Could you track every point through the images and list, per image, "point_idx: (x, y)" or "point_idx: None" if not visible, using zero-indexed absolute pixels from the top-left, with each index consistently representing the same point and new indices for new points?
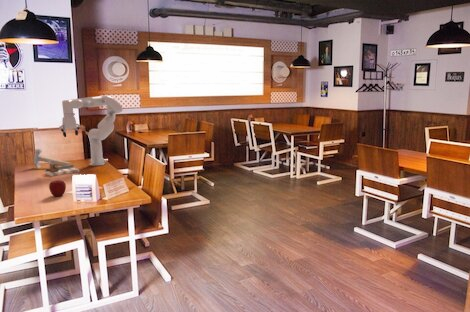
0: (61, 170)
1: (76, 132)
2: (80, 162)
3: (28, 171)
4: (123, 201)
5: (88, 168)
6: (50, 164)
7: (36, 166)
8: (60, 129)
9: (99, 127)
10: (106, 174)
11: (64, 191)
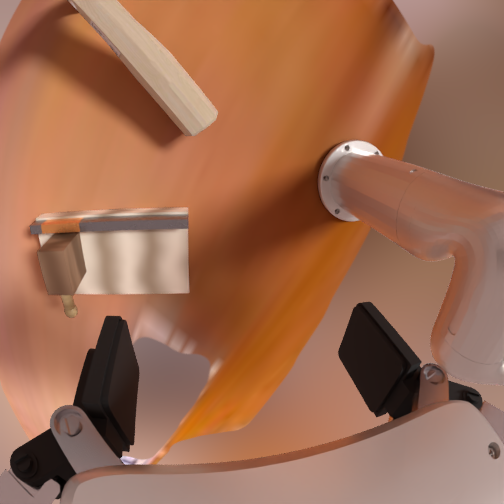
0: (103, 258)
1: (361, 387)
2: (333, 39)
3: (10, 80)
4: None
5: (262, 244)
6: (40, 262)
7: (72, 4)
8: (19, 475)
9: None
10: (240, 388)
11: None
